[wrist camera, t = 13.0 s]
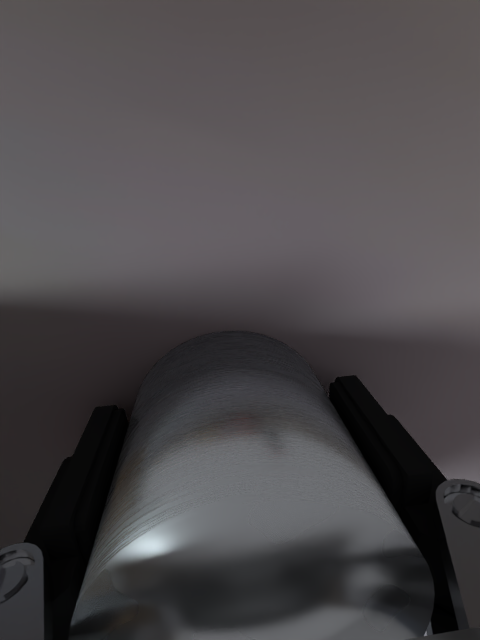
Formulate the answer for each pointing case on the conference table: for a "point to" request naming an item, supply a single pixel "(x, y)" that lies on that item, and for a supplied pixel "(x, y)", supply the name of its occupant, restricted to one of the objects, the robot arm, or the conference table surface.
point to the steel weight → (247, 512)
